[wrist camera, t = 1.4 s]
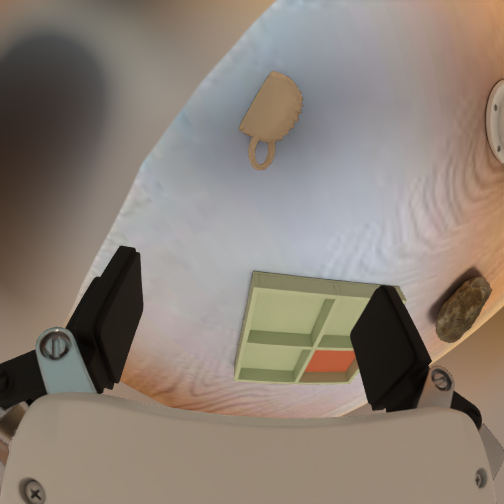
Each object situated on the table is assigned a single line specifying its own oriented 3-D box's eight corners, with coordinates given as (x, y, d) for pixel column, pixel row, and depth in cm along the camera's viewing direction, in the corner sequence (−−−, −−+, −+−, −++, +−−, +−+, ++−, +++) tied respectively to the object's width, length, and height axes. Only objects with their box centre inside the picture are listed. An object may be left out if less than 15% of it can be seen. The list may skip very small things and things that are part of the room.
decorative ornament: (310, 91, 23) (324, 93, 19) (265, 160, 27) (269, 177, 23) (273, 69, 22) (278, 65, 18) (229, 141, 26) (224, 154, 22)
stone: (447, 337, 42) (451, 358, 35) (423, 310, 44) (424, 328, 37) (493, 290, 36) (505, 305, 29) (469, 261, 38) (479, 270, 32)
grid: (399, 286, 37) (407, 300, 34) (346, 370, 48) (349, 383, 46) (253, 270, 35) (253, 287, 32) (234, 366, 46) (233, 381, 44)
